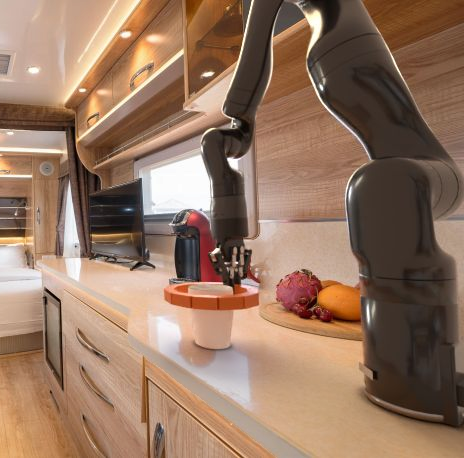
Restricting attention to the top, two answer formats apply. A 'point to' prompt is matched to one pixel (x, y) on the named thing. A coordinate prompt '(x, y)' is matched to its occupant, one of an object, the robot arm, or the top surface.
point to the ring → (212, 297)
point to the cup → (211, 318)
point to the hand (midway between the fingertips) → (232, 293)
